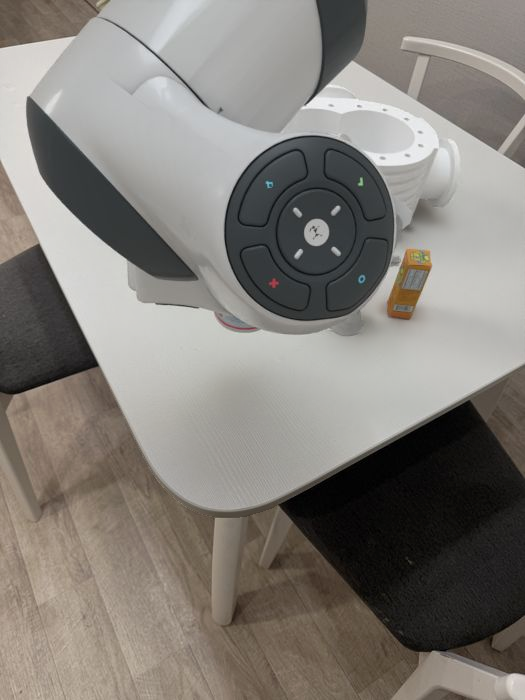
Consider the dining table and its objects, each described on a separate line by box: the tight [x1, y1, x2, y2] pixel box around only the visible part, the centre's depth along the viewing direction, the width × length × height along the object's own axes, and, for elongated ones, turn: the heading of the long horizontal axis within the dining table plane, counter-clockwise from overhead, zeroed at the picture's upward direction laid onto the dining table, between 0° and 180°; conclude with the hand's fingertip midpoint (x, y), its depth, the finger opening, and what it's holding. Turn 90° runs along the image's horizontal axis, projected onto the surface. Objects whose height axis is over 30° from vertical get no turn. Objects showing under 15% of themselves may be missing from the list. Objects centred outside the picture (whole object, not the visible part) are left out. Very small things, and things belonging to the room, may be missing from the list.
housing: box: [281, 84, 461, 227], centre depth 81 cm, size 35×22×14 cm, turn 96°
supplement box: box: [386, 248, 433, 320], centre depth 68 cm, size 3×3×10 cm
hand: (246, 265), depth 48 cm, fingers closed on pill bottle, 6 cm apart
